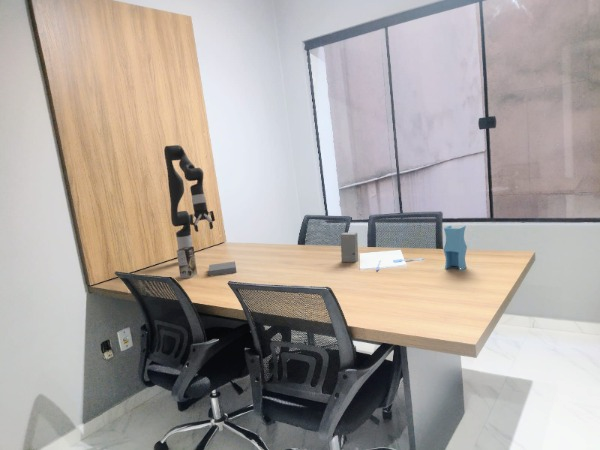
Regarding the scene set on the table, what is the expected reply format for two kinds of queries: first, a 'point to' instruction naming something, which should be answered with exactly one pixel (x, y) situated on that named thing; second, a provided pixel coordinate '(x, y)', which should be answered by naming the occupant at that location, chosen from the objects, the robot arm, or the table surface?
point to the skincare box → (349, 247)
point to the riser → (222, 268)
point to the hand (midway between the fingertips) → (204, 230)
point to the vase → (455, 247)
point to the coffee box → (186, 262)
